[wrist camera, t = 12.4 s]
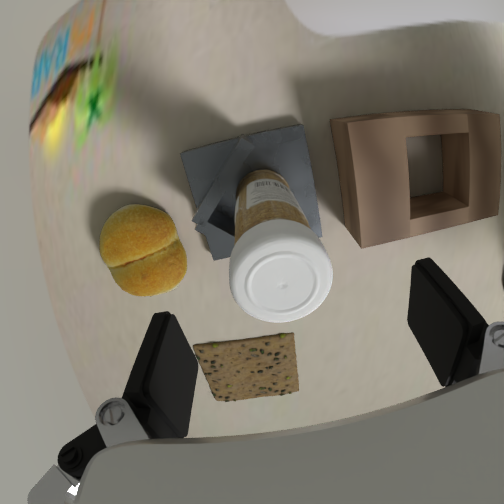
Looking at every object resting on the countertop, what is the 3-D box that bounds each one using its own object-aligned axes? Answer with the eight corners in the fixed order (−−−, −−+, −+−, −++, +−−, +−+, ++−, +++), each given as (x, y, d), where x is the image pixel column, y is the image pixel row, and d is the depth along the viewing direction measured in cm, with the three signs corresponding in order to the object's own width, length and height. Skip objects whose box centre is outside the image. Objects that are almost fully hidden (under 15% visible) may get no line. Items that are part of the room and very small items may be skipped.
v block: (300, 120, 23) (312, 123, 19) (320, 235, 28) (332, 258, 24) (181, 148, 23) (169, 157, 20) (215, 258, 28) (211, 284, 24)
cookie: (300, 388, 39) (301, 394, 38) (216, 398, 39) (215, 404, 39) (294, 328, 33) (296, 334, 32) (191, 342, 34) (190, 347, 33)
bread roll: (164, 189, 25) (152, 203, 22) (198, 273, 29) (192, 297, 26) (91, 216, 26) (72, 233, 23) (128, 291, 30) (116, 314, 27)
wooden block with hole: (470, 109, 21) (499, 114, 17) (472, 199, 26) (497, 214, 22) (329, 119, 23) (347, 122, 19) (345, 226, 27) (361, 248, 23)
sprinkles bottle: (226, 206, 25) (210, 304, 13) (252, 158, 23) (260, 216, 11) (274, 229, 26) (298, 338, 14) (301, 184, 24) (355, 264, 12)
